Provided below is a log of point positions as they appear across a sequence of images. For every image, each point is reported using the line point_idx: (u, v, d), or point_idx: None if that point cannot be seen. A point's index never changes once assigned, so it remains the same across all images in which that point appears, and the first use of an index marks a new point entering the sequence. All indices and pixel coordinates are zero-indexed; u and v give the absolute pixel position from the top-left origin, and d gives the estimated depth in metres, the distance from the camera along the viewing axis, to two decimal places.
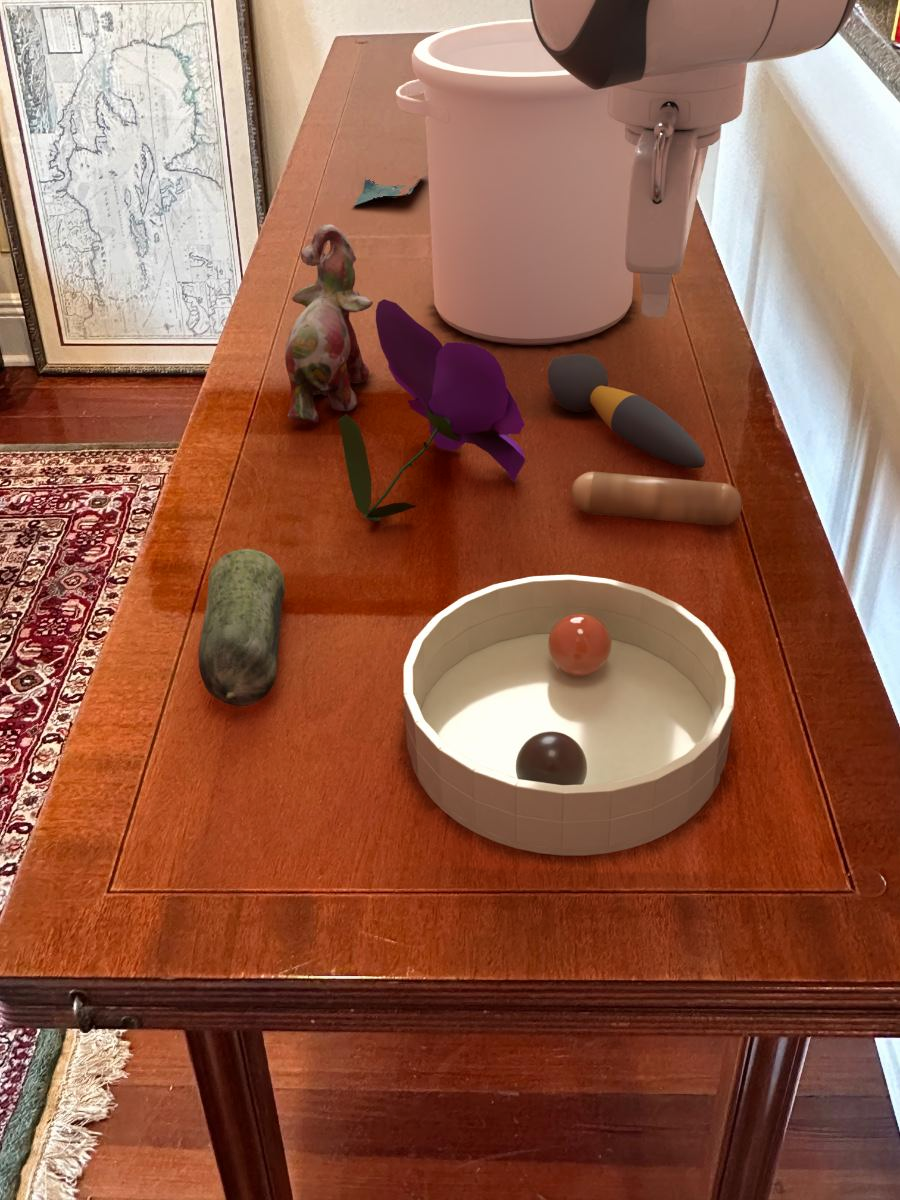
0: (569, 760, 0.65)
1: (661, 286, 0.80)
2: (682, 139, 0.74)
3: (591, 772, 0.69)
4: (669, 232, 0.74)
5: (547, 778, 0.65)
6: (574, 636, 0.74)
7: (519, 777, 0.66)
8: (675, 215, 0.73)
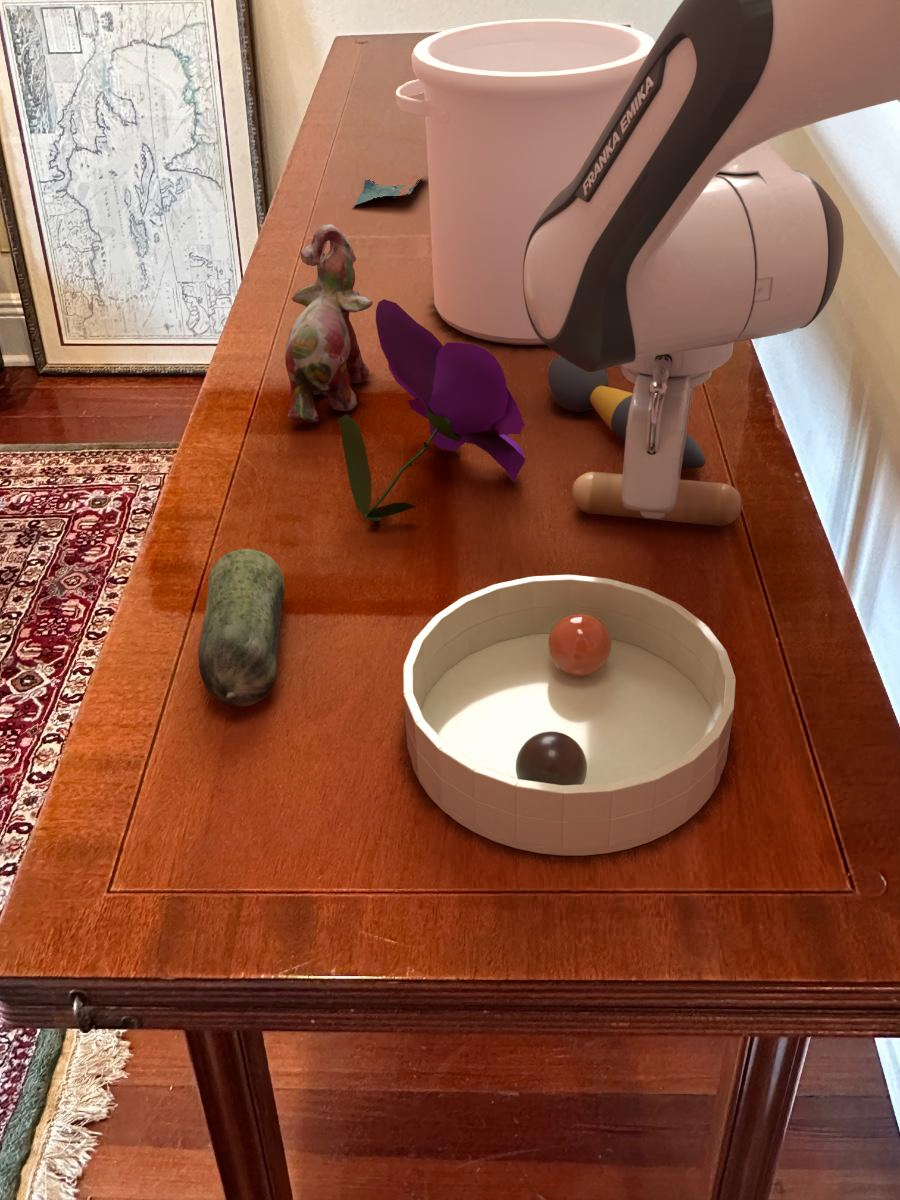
0: (569, 760, 0.65)
1: None
2: (675, 389, 0.78)
3: (591, 772, 0.69)
4: (663, 479, 0.78)
5: (547, 778, 0.65)
6: (574, 636, 0.74)
7: (519, 777, 0.66)
8: (669, 465, 0.77)
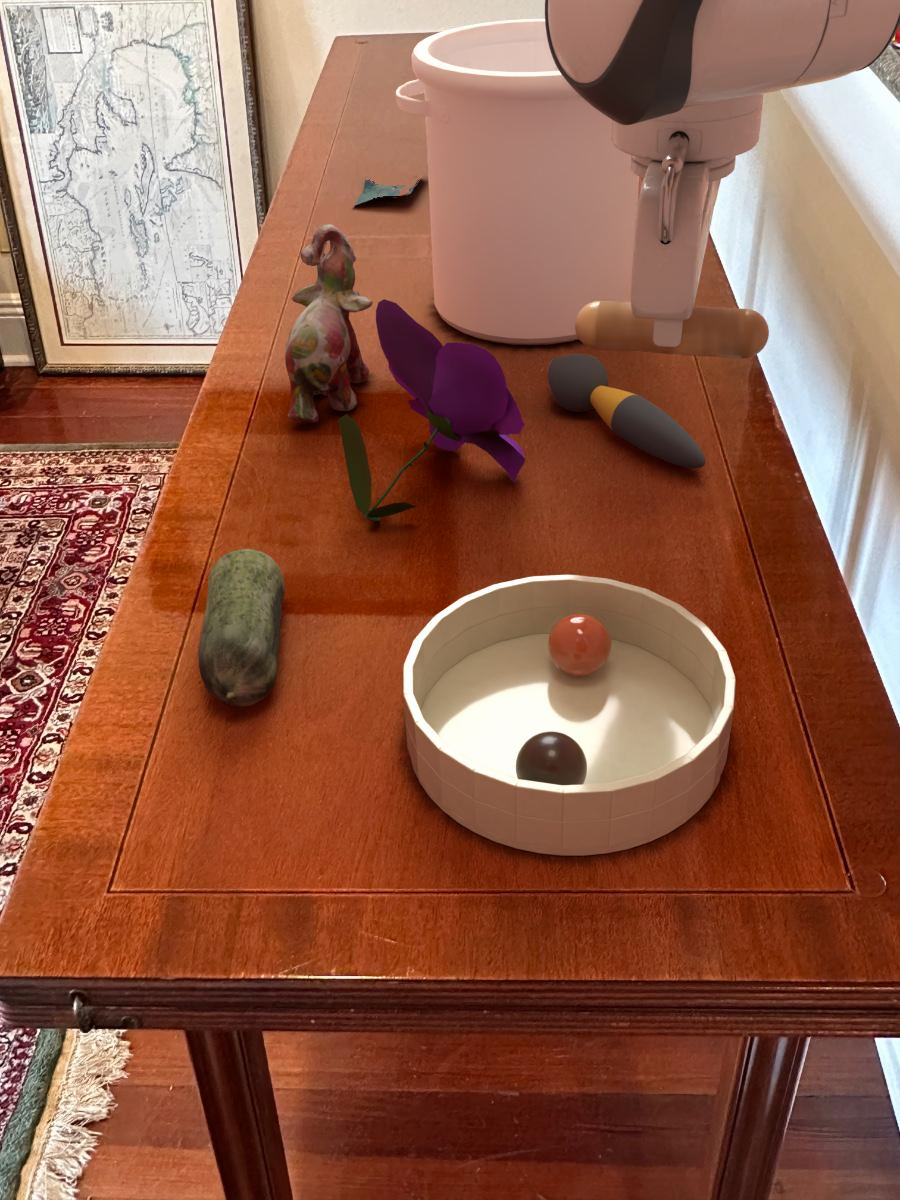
0: (569, 760, 0.65)
1: None
2: (693, 172, 0.68)
3: (591, 772, 0.69)
4: (679, 275, 0.67)
5: (547, 778, 0.65)
6: (574, 636, 0.74)
7: (519, 777, 0.66)
8: (685, 257, 0.67)
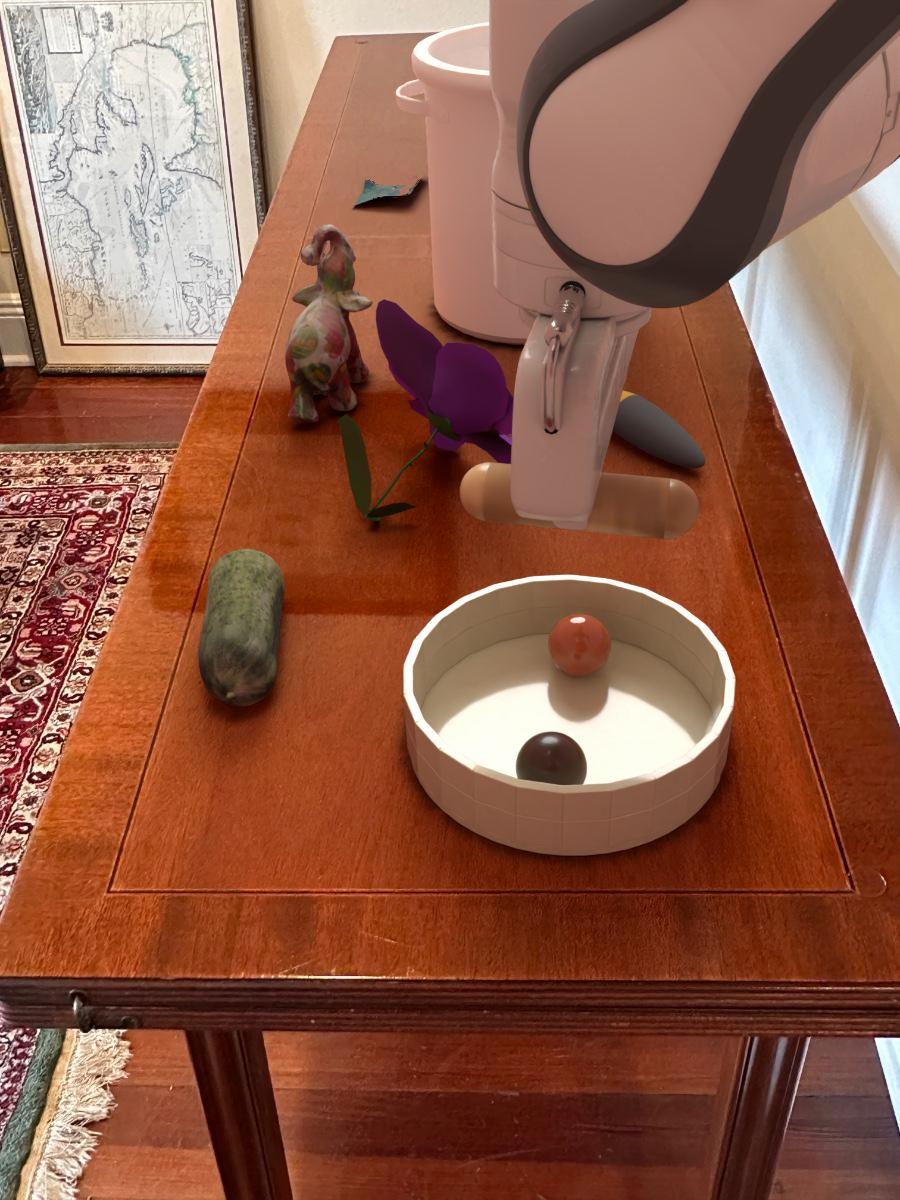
0: (569, 760, 0.65)
1: None
2: (590, 336, 0.52)
3: (591, 772, 0.69)
4: (570, 472, 0.51)
5: (547, 778, 0.65)
6: (574, 636, 0.74)
7: (519, 777, 0.66)
8: (578, 450, 0.51)
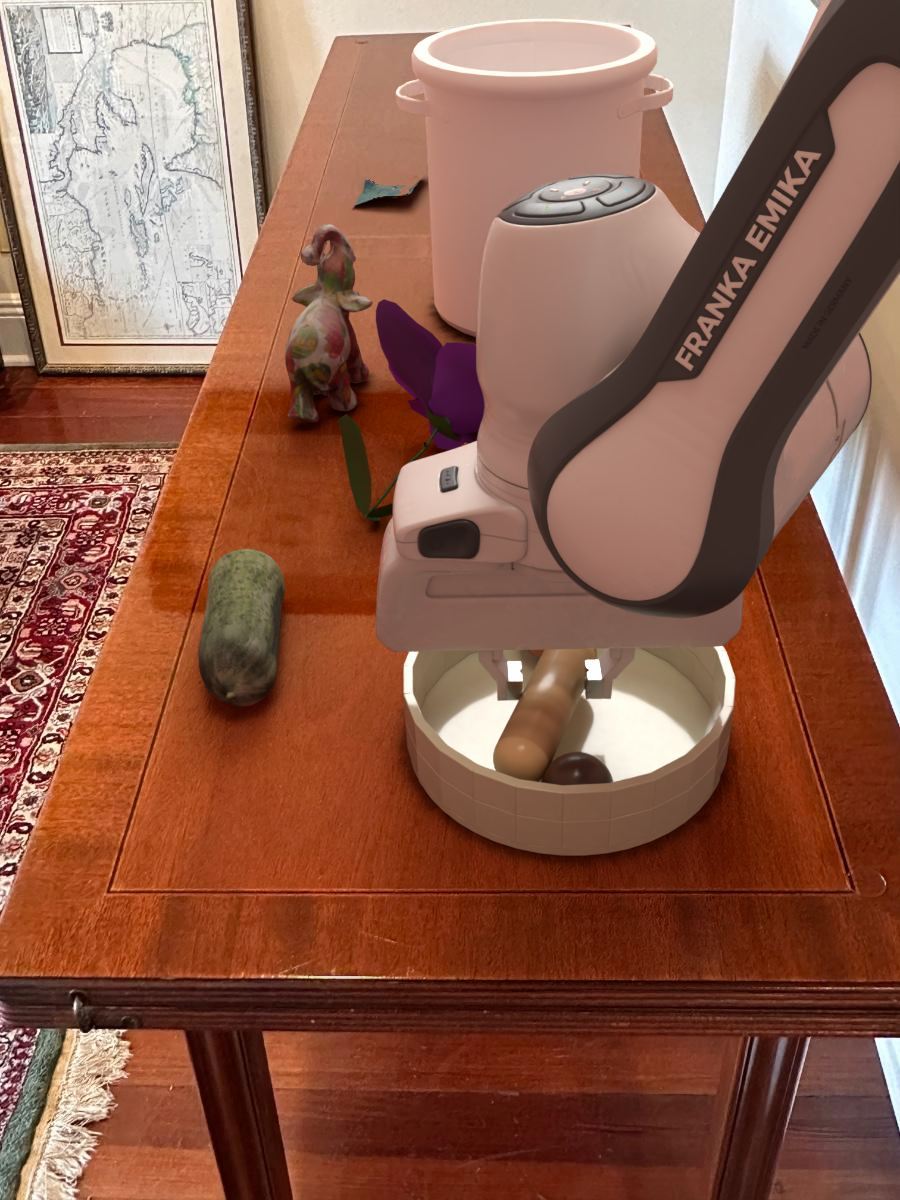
0: None
1: None
2: None
3: None
4: None
5: None
6: None
7: None
8: None
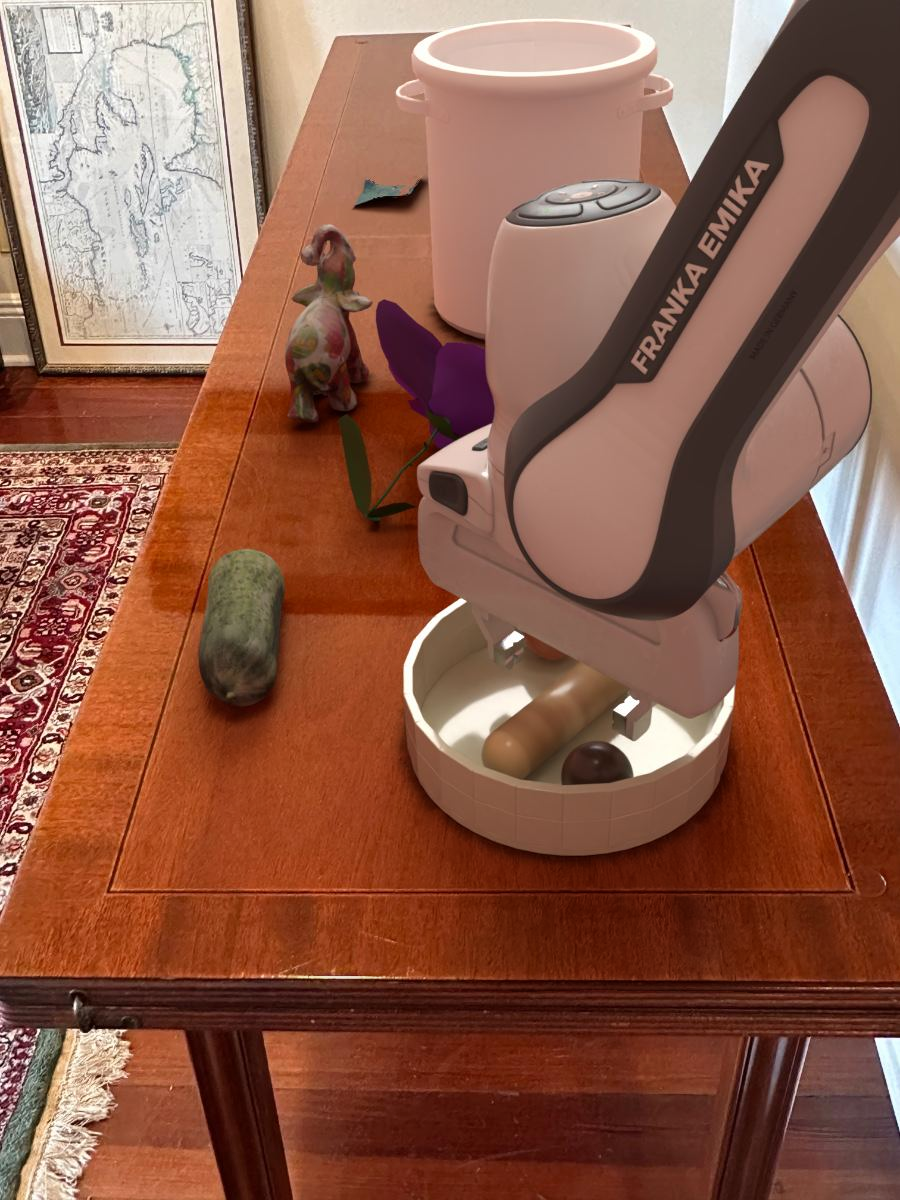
0: None
1: None
2: None
3: None
4: (733, 658, 0.61)
5: None
6: None
7: (580, 761, 0.65)
8: (735, 639, 0.61)
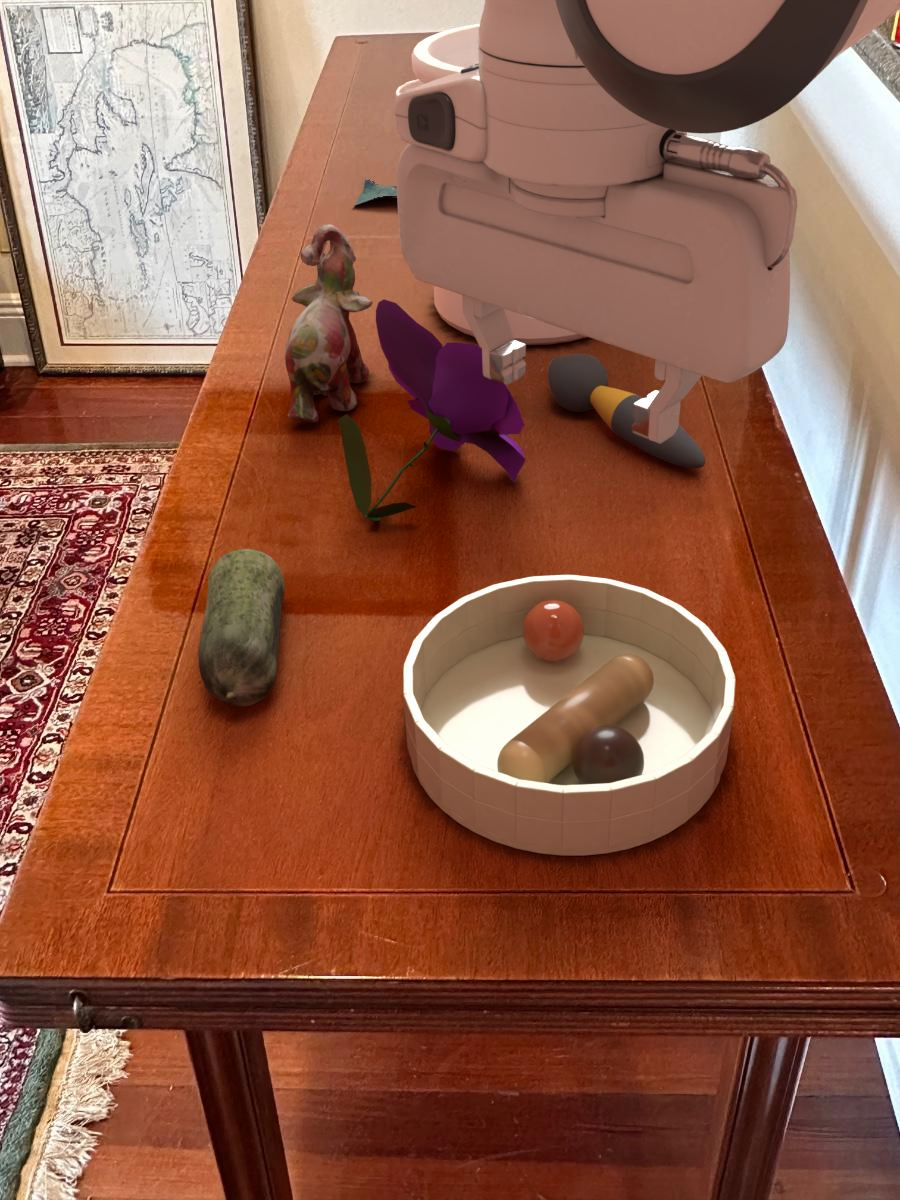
0: (631, 775, 0.66)
1: (685, 392, 0.54)
2: None
3: None
4: (783, 302, 0.49)
5: (615, 755, 0.65)
6: (530, 614, 0.76)
7: (602, 728, 0.67)
8: (786, 276, 0.49)
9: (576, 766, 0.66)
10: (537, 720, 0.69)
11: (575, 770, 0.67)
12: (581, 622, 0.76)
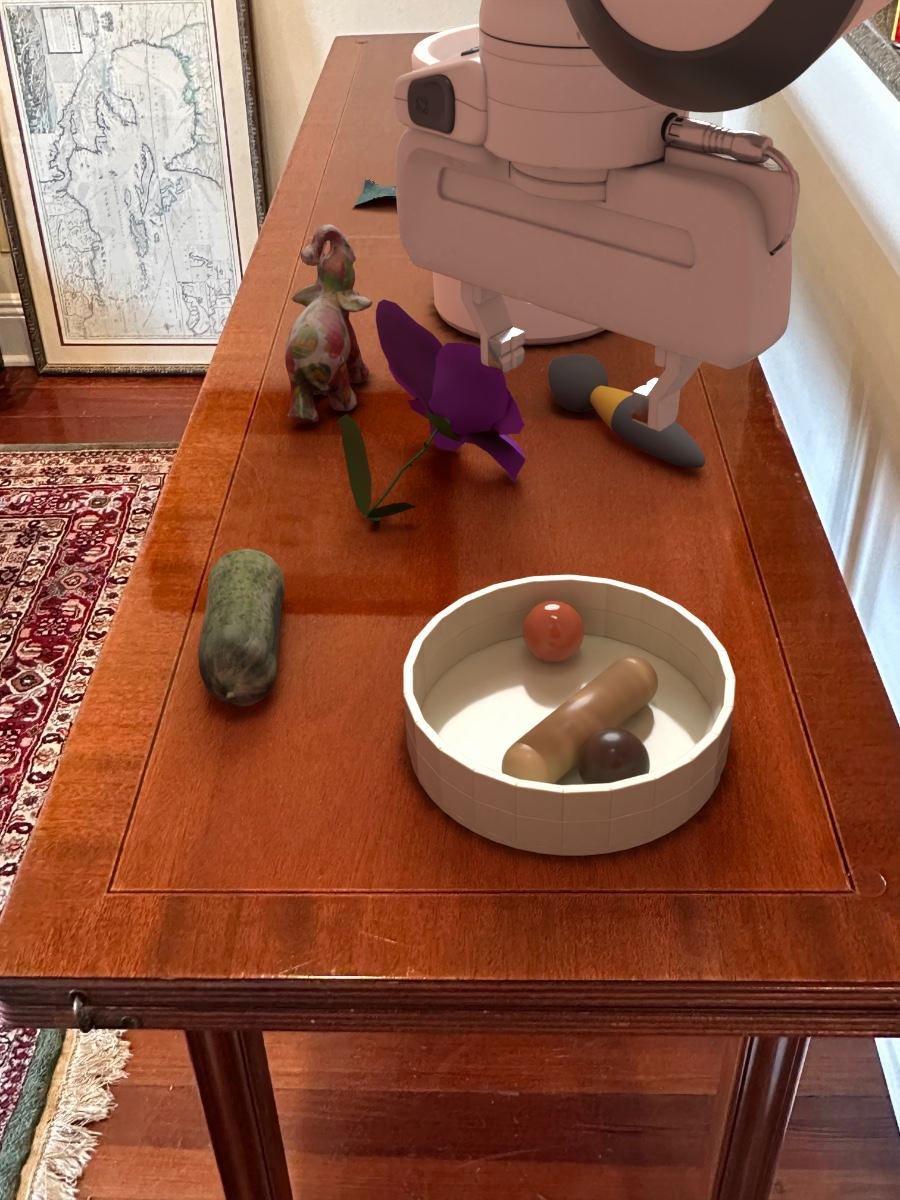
0: None
1: (685, 379, 0.54)
2: None
3: None
4: (784, 288, 0.49)
5: (625, 762, 0.65)
6: (530, 615, 0.76)
7: (612, 732, 0.66)
8: (788, 262, 0.49)
9: (583, 767, 0.66)
10: (545, 723, 0.68)
11: (581, 770, 0.66)
12: (581, 623, 0.76)
